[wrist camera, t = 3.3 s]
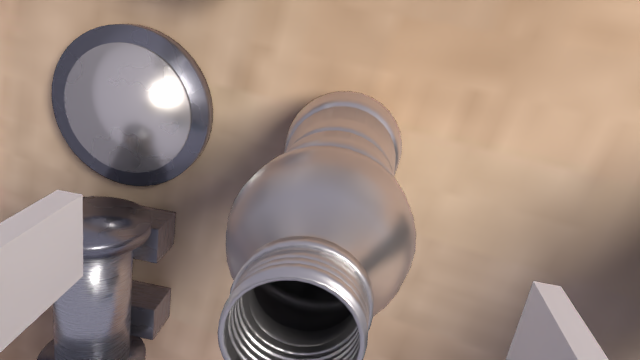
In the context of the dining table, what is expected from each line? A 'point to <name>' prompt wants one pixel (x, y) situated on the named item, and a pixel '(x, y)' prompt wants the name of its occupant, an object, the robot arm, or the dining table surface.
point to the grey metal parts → (124, 179)
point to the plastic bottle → (319, 237)
